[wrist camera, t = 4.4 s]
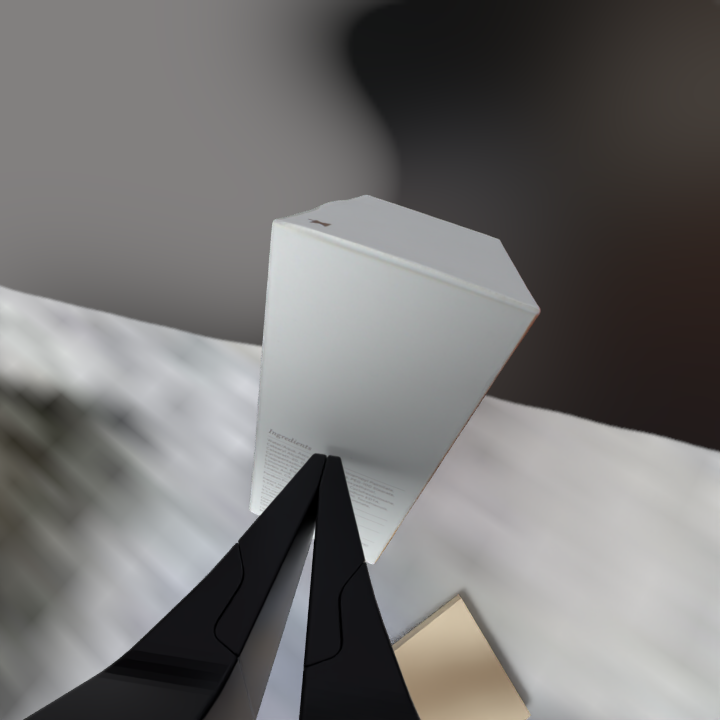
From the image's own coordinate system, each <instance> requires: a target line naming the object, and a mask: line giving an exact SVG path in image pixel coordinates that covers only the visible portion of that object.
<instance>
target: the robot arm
mask: <svg viewBox="0 0 720 720" xmlns="http://www.w3.org/2000/svg"><path fill="white" fill-rule="evenodd" d="M314 531H315V537H314V549H313V561H312V573H311V585H310V597H309V609H308V621H307V633H306V645H305V657H304V671H303V681H302V692H301V704H300V715H299V720H421V719H420V717H419V715H418V712H417V710H416V708H415V706H414V703H413V701H412V698H411V696H410V693H409V691H408V688H407V686H406V683H405V680H404V678H403V675H402V672H401V669H400V667H399V664H398V661H397V658H396V656H395V653H394V650H393V647H392V645H391V642H390V639H389V636H388V634H387V631H386V628H385V625H384V623H383V620H382V617H381V614H380V611H379V607H378V604H377V601H376V598H375V595H374V591H373V587H372V584H371V580H370V576H369V572H368V568H367V564H366V562H365V556H364V552H363V548H362V544H361V539H360V535H359V531H358V527H357V523H356V519H355V514H354V510H353V506H352V502H351V498H350V494H349V489H348V485H347V481H346V477H345V473H344V469H343V465H342V460H341V458H340V457H339V456H334V455H328V456H327V455H325V454H320V453H314V454H313V455H312V456H311V457H310V458H309V459H308V460H307V462H306V463H305V464H304V465H303V466H302V467H301V469H300V470H299V471H298V472H297V473H296V474H295V475H294V477H293V478H292V479H291V480H290V481H289V482H288V484H287V485H286V486H285V487H284V488H283V489H282V490H281V492H280V493H279V494H278V495H277V496H276V497H275V499H274V500H273V501H272V502H271V503H270V504H269V506H268V507H267V508H266V509H265V510H264V511H263V512H262V514H261V515H260V516H259V517H258V518H257V519H256V521H255V522H254V523H253V524H252V525H251V526H250V527H249V529H248V530H247V531H246V532H245V533H244V534H243V536H242V537H241V538H240V539H239V540H238V543H236V544H235V545H234V546H233V547H232V548H231V549H230V550H229V552H228V553H227V554H226V555H225V556H224V557H223V558H222V559H221V561H220V562H219V563H218V564H217V565H216V566H215V567H214V568H213V569H212V570H211V572H210V573H209V574H208V575H207V576H206V577H205V578H204V579H203V580H202V581H201V582H200V583H199V584H198V585H197V586H196V587H195V588H194V589H193V590H192V591H191V592H190V593H189V594H188V595H187V596H186V597H184V598H183V599H182V600H181V601H180V602H179V603H178V604H177V605H176V606H175V607H174V608H173V609H172V610H171V611H170V612H169V613H168V614H167V615H166V616H165V617H164V618H163V619H162V620H160V621H159V622H158V623H157V624H156V625H155V626H154V627H153V628H152V629H151V630H150V631H149V632H148V633H147V634H146V635H145V636H144V637H143V638H142V639H141V640H140V641H139V642H137V643H136V644H135V645H134V646H133V647H132V648H131V649H130V650H129V651H128V652H126V653H125V654H124V655H123V656H122V657H121V658H119V659H118V660H117V661H115V662H114V663H113V664H112V665H110V666H109V667H107V668H106V669H105V670H103V671H102V672H100V673H99V674H97V675H96V676H94V677H92V678H91V679H89V680H88V681H86V682H84V683H83V684H81V685H79V686H78V687H76V688H74V689H73V690H71V691H70V692H68V693H66V694H65V695H63V696H61V697H60V698H58V699H56V700H55V701H53V702H52V703H50V704H48V705H47V706H45V707H43V708H42V709H40V710H38V711H37V712H35V713H34V714H32V715H30V716H29V717H27V718H25V719H24V720H256V718H257V715H258V711H259V708H260V705H261V702H262V698H263V695H264V692H265V689H266V686H267V682H268V679H269V676H270V673H271V669H272V666H273V663H274V660H275V657H276V653H277V650H278V647H279V644H280V641H281V637H282V634H283V631H284V628H285V624H286V621H287V618H288V615H289V612H290V608H291V605H292V602H293V599H294V596H295V592H296V589H297V586H298V583H299V579H300V576H301V573H302V570H303V567H304V563H305V560H306V557H307V554H308V551H309V547H310V544H311V541H312V538H313V534H314Z"/></svg>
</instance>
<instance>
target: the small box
mask: <svg viewBox="0 0 720 720" xmlns="http://www.w3.org/2000/svg"><path fill="white" fill-rule="evenodd" d="M540 311H541V310H540V308H539V306H538V305H537V303H536V302H535V300H534V299H533V297H532V295H531V293H530V292H529V290H528V288H527V287H526V285H525V283H524V281H523V280H522V278H521V276H520V274H519V273H518V271H517V269H516V268H515V266H514V264H513V262H512V261H511V259H510V257H509V255H508V254H507V252H506V250H505V249H504V247H503V245H502V243H501V241H500V240H499V239H497V238H494V237H491V236H488V235H486V234H482V233H480V232H476V231H473V230H471V229H467V228H465V227H461V226H459V225H456V224H453V223H450V222H447V221H444V220H441V219H438V218H435V217H432V216H429V215H426V214H423V213H420V212H417V211H414V210H411V209H408V208H405V207H402V206H399V205H396V204H393V203H390V202H387V201H384V200H381V199H378V198H375V197H372V196H370V195H364V196H361V197H357V198H353V199H349V200H340V201H333V202H329V203H325V204H323V205H321V206H319V207H317V208H315V209H313V210H308V211H305V212H302V213H298V214H295V215H292V216H288V217H284V218H278V219H275V220H274V221H273V223H272V233H271V245H270V258H269V271H268V284H267V296H266V308H265V321H264V334H263V346H262V358H261V371H260V384H259V397H258V412H257V427H256V440H255V452H254V464H253V474H252V484H251V497H250V506H249V510H250V511H251V512H252V513H255V514H257V515H259V516H260V515H261V514H262V512H263V511H264V510H265V509H266V508H267V507H268V506H269V504H270V503H271V502H272V501H273V500H274V499H275V497H276V496H277V495H278V494H279V493H280V492H281V490H282V489H283V488H284V487H285V486H286V485H287V484H288V482H289V481H290V480H291V479H292V478H293V477H294V475H295V474H296V473H297V472H298V471H299V470H300V469H301V467H302V466H303V465H304V464H305V463H306V462H307V460H308V459H309V458H310V457H311V456H312V455H313V454H314V453H320V454H325V455H327V456H328V455H334V456H339V457H340V458H341V460H342V465H343V469H344V473H345V477H346V481H347V485H348V489H349V494H350V498H351V502H352V506H353V510H354V514H355V519H356V523H357V527H358V531H359V535H360V539H361V544H362V548H363V552H364V556H365V561H366V562H368V563H370V564H375V563H376V561H377V560H378V558H379V557H380V555H381V554H382V552H383V551H384V549H385V548H386V546H387V545H388V543H389V542H390V540H391V539H392V537H393V536H394V534H395V532H396V531H397V529H398V527H399V526H400V524H401V523H402V521H403V520H404V518H405V517H406V515H407V514H408V512H409V511H410V509H411V508H412V506H413V505H414V503H415V502H416V500H417V499H418V497H419V495H420V494H421V492H422V491H423V490H424V488H425V487H426V485H427V484H428V482H429V481H430V479H431V478H432V476H433V475H434V473H435V472H436V470H437V468H438V467H439V465H440V464H441V462H442V461H443V459H444V457H445V456H446V454H447V453H448V451H449V450H450V448H451V447H452V445H453V444H454V442H455V440H456V439H457V437H458V436H459V434H460V433H461V431H462V430H463V428H464V427H465V425H466V424H467V422H468V421H469V419H470V418H471V416H472V415H473V413H474V412H475V410H476V409H477V407H478V406H479V404H480V402H481V401H482V399H483V398H484V396H485V395H486V393H487V392H488V390H489V389H490V387H491V386H492V384H493V383H494V381H495V379H496V378H497V376H498V375H499V373H500V372H501V370H502V369H503V367H504V366H505V364H506V363H507V361H508V360H509V358H510V357H511V356H512V354H513V353H514V351H515V350H516V348H517V347H518V345H519V344H520V342H521V341H522V339H523V338H524V336H525V335H526V334H527V332H528V330H529V329H530V327H531V326H532V324H533V323H534V321H535V319H537V317H538V316H539V314H540ZM314 537H315V531H314V534H313V538H312V539H314Z"/></svg>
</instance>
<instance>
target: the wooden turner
mask: <svg viewBox="0 0 720 720" xmlns="http://www.w3.org/2000/svg"><path fill="white" fill-rule="evenodd" d="M392 647H393V650H394V653H395V656H396V658H397V661H398V664H399V667H400V669H401V672H402V675H403V678H404V680H405V683H406V686H407V688H408V691H409V693H410V696H411V698H412V701H413V703H414V706H415V708H416V710H417V712H418V715H419V717H420V719H421V720H526V719H527V718H528V717H529V716H531V714H530V713H529V711H528V709H527V708H526V706H525V704H524V703H523V701H522V699H521V698H520V696H519V694H518V693H517V691H516V689H515V687H514V686H513V684H512V682H511V681H510V679H509V677H508V676H507V674H506V672H505V671H504V669H503V667H502V666H501V664H500V662H499V661H498V659H497V657H496V656H495V654H494V652H493V651H492V649H491V647H490V645H489V644H488V642H487V640H486V639H485V637H484V635H483V634H482V632H481V630H480V629H479V627H478V625H477V624H476V622H475V620H474V619H473V617H472V615H471V614H470V612H469V610H468V609H467V607H466V605H465V603H464V602H463V600H462V598H461V597H460V596H459V594H458V595H457V596H456V597H454V598H453V599H452V600H450V601H449V602H448V603H446V604H445V605H444V606H443V607H441V608H440V609H439V610H437V611H436V612H435V613H434V614H432V615H431V616H430V617H428V618H427V619H426V620H424V621H423V622H422V623H421V624H419V625H418V626H417V627H415V628H414V629H413V630H412V631H410V632H409V633H408V634H406V635H405V636H404V637H402V638H401V639H400V640H399V641H397V642H396V643H395V644H393V645H392Z"/></svg>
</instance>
